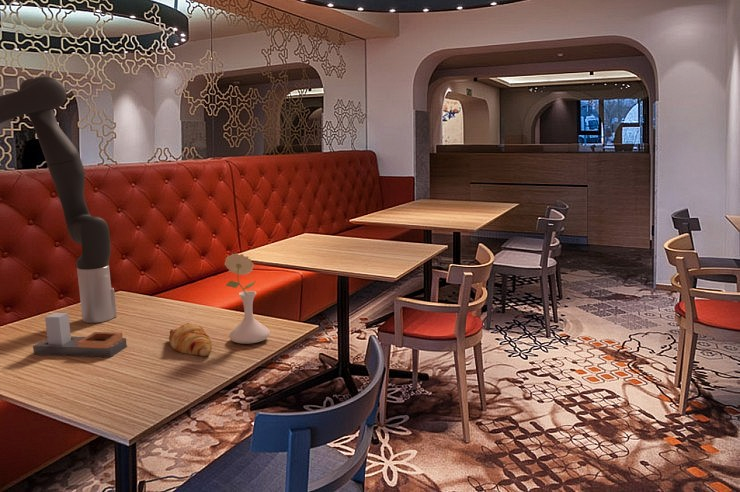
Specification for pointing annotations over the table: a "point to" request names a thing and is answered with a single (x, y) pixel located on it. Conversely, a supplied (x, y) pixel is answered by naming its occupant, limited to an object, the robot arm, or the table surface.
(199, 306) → the table surface
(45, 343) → the socket
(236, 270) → the flower in vase
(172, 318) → the table surface
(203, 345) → the croissant
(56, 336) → the peg
